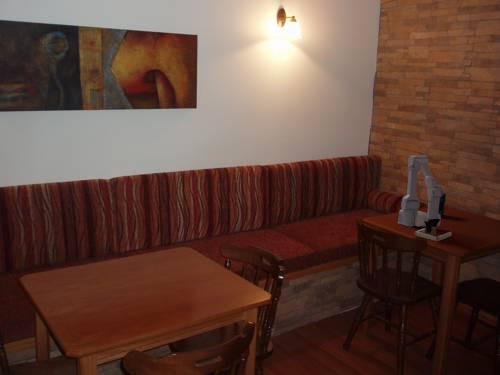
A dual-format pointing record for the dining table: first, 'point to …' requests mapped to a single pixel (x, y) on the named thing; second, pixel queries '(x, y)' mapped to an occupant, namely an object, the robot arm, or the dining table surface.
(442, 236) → the bay
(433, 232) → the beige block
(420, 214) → the foam cup
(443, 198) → the green-striped black cylinder
